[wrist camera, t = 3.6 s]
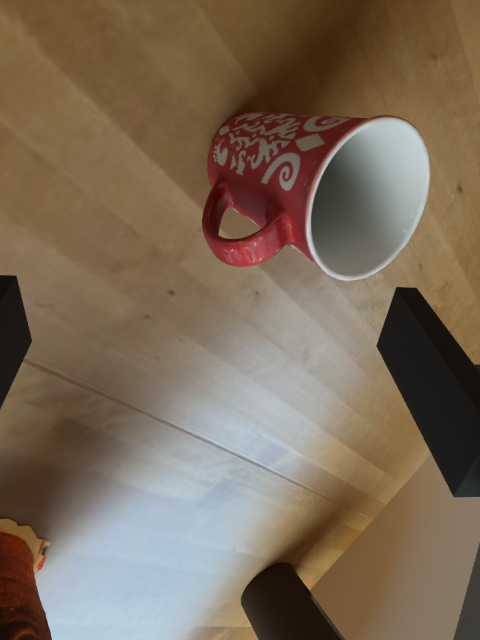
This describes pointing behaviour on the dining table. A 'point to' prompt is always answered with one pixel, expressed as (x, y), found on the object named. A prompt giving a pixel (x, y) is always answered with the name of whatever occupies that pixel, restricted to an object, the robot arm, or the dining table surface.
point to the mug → (318, 189)
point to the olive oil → (285, 608)
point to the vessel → (21, 584)
